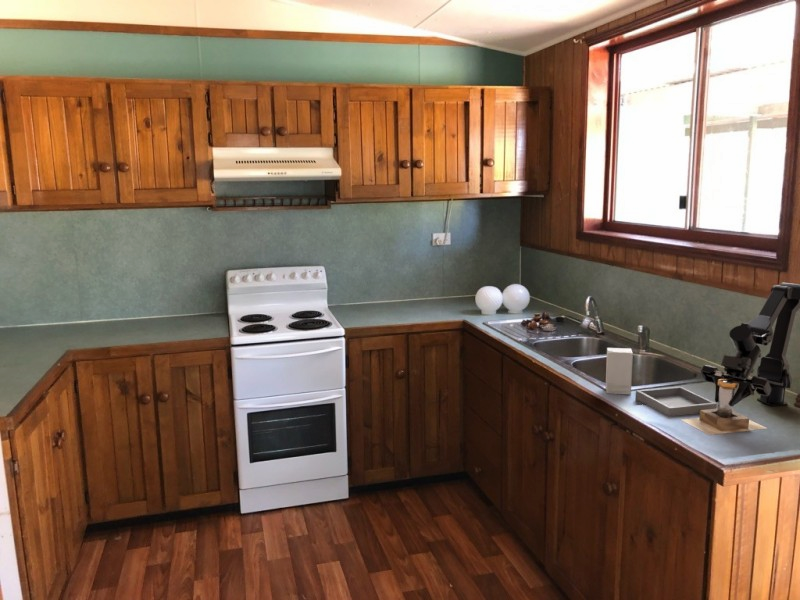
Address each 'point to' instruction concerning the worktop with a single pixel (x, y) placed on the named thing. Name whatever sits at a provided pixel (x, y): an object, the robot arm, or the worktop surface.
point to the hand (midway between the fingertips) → (723, 403)
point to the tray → (674, 400)
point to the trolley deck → (714, 431)
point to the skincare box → (619, 370)
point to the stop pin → (726, 397)
